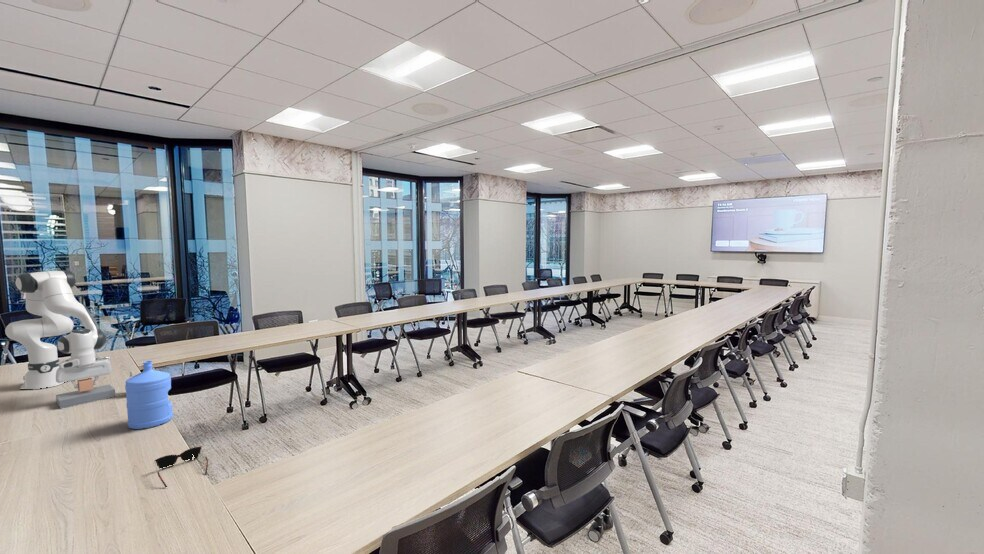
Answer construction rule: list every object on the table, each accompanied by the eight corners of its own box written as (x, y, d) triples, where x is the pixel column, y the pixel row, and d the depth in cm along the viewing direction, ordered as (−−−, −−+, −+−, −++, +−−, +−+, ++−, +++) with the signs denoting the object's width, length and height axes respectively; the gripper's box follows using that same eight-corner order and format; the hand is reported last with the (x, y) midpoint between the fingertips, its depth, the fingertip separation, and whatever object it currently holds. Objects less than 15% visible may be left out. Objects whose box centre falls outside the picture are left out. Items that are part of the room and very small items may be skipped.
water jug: (147, 431, 171) (143, 368, 169) (118, 428, 174) (114, 365, 172) (181, 416, 186) (178, 358, 184) (154, 413, 190) (151, 356, 188)
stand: (56, 402, 203) (55, 395, 202) (109, 391, 219) (109, 384, 218) (60, 408, 195) (59, 400, 195) (115, 396, 211) (114, 389, 211)
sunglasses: (202, 457, 151) (201, 445, 150) (211, 477, 140) (211, 463, 139) (154, 472, 141) (154, 459, 140) (161, 494, 130) (160, 480, 129)
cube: (77, 389, 206) (77, 380, 206) (91, 387, 210) (90, 377, 210) (79, 391, 203) (79, 382, 203) (93, 389, 207) (92, 379, 207)
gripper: (109, 355, 216) (111, 379, 217) (53, 363, 199) (56, 390, 200) (112, 357, 212) (114, 382, 213) (55, 366, 195) (57, 393, 196)
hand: (85, 386), depth 206 cm, fingers closed on cube, 5 cm apart
